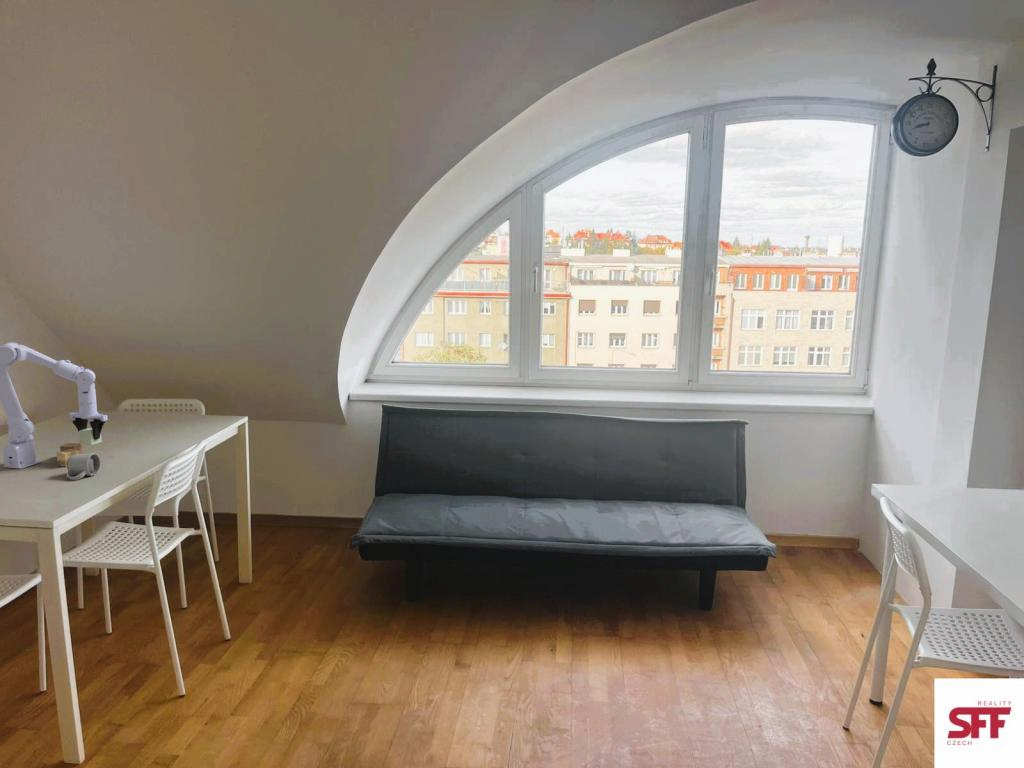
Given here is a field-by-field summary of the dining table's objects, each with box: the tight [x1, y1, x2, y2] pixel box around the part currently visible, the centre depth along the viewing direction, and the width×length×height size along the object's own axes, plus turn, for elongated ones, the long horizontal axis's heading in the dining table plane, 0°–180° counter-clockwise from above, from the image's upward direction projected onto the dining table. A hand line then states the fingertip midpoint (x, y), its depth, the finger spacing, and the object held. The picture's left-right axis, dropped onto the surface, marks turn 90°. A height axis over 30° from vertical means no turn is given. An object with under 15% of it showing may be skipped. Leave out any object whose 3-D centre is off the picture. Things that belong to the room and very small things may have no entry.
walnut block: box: [59, 442, 83, 454], centre depth 279 cm, size 5×5×5 cm
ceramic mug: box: [66, 452, 101, 481], centre depth 257 cm, size 11×8×8 cm
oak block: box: [56, 449, 79, 468], centre depth 270 cm, size 5×5×5 cm
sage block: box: [78, 427, 103, 446], centre depth 276 cm, size 5×5×5 cm
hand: (90, 438), depth 276 cm, fingers closed on sage block, 5 cm apart
